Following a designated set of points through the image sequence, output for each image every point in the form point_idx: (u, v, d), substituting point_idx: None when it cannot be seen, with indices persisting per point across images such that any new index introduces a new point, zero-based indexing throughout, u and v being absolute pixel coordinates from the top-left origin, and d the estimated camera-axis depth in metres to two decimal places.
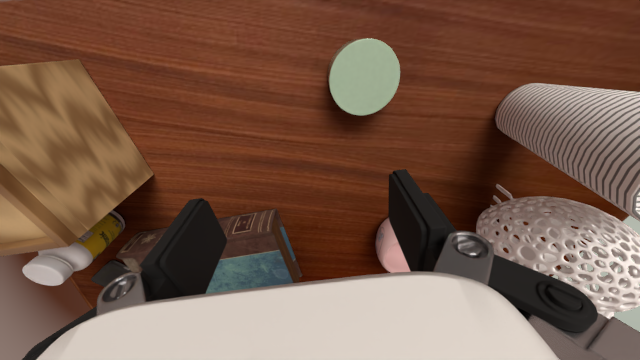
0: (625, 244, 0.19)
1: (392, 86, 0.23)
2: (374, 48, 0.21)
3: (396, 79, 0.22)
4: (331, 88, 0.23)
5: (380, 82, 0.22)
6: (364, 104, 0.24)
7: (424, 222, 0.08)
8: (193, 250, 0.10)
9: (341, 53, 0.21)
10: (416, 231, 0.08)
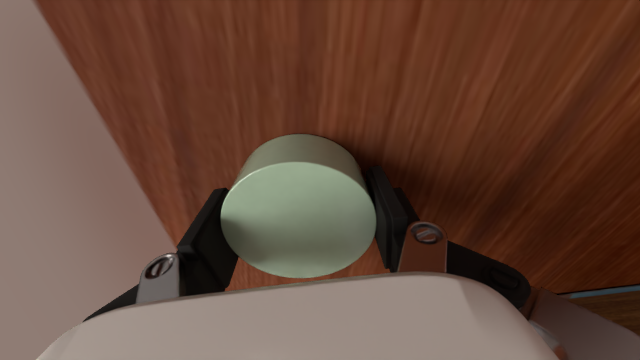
0: None
1: (312, 175, 0.09)
2: (236, 220, 0.10)
3: (295, 170, 0.09)
4: (316, 275, 0.12)
5: (302, 203, 0.09)
6: (351, 226, 0.10)
7: (389, 213, 0.08)
8: (221, 235, 0.10)
9: (255, 266, 0.11)
10: (383, 222, 0.09)
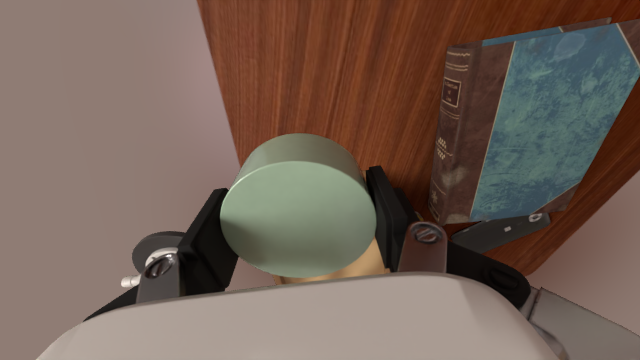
0: None
1: (312, 174, 0.09)
2: (235, 220, 0.10)
3: (295, 169, 0.08)
4: (316, 274, 0.12)
5: (302, 203, 0.09)
6: (351, 225, 0.10)
7: (389, 213, 0.08)
8: (221, 235, 0.10)
9: (255, 265, 0.11)
10: (383, 222, 0.09)
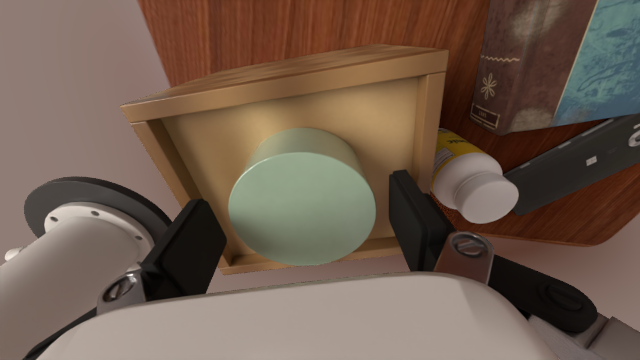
0: None
1: (316, 165, 0.09)
2: (243, 209, 0.10)
3: (299, 160, 0.09)
4: (318, 263, 0.13)
5: (306, 192, 0.10)
6: (352, 214, 0.11)
7: (424, 222, 0.08)
8: (193, 250, 0.10)
9: (260, 253, 0.12)
10: (416, 231, 0.08)
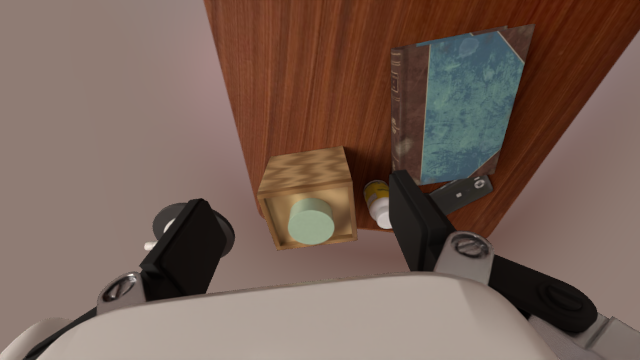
0: None
1: (315, 213, 0.32)
2: (292, 225, 0.33)
3: (310, 212, 0.32)
4: (316, 243, 0.36)
5: (312, 220, 0.33)
6: (326, 227, 0.34)
7: (424, 222, 0.08)
8: (193, 250, 0.10)
9: (296, 240, 0.35)
10: (416, 231, 0.08)
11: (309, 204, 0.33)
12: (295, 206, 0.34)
